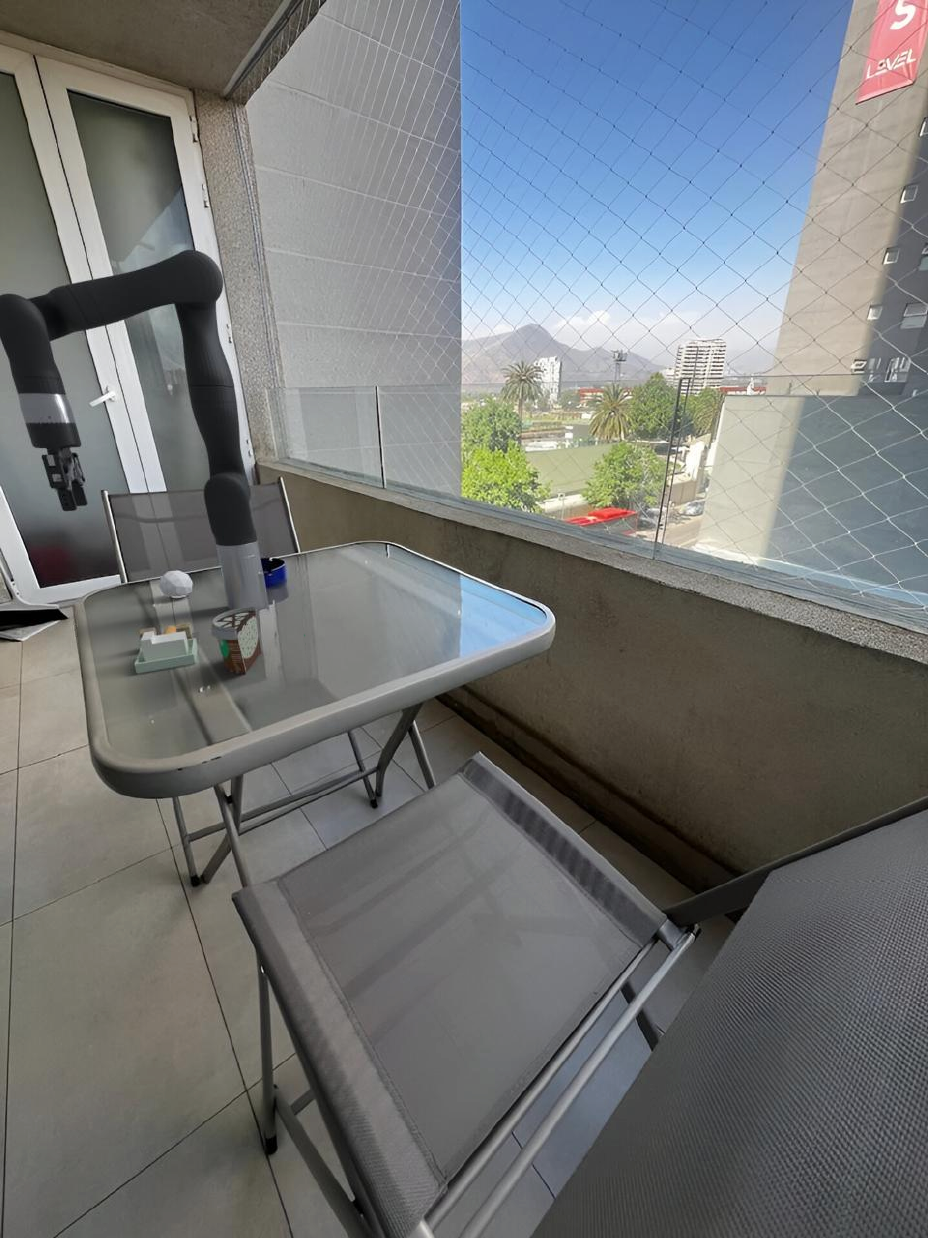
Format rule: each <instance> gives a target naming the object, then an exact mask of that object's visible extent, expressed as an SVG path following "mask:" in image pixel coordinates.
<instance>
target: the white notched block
mask: <svg viewBox="0 0 928 1238" xmlns="http://www.w3.org/2000/svg"><path fill="white" fill-rule="evenodd" d="M140 643H141V645H140V649H141V648H142V652H143V655H144V659H145V662H148V661H154V660H159V659H165V658H171V657H177V656H183V655H189V645H188V641H187V637H186V633H185V631H183V632H176V633H170V634H164V633H163V634H157V636H155V634H154V631H151V632H144V634H143V637H142V639H140Z"/></svg>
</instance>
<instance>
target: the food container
mask: <svg viewBox="0 0 928 1238" xmlns="http://www.w3.org/2000/svg"><path fill="white" fill-rule="evenodd" d="M258 616H259V614H258V611H257V609H256V607H245V608H239V609H235V610H231V611H229V610H228V611H225V612H223V613H220V614H218V615H216V616H215V617H214V618H213V620H212V623H211V627H210V628H211V630H210V631H211V636H212V637H214V638H216V639H217V643H218V647H219V650H220V653H221V655H222V659H223V661H224V666H225V668H226V671H228V672H229V673H232V674H236V675H246V674H247V673H248V672H249V671H250V669H251V668H252V666H253V665H254V663H255V662H256V661H257V659H258V658H259V657H260V655H261V654H262V653H263V649H262V643H261V641H262V640H261V636H260V628H259V620H258Z"/></svg>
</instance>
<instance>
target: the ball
mask: <svg viewBox="0 0 928 1238" xmlns="http://www.w3.org/2000/svg"><path fill="white" fill-rule="evenodd" d="M193 584H194V583H193V581H192V579H191V577H190V576H189V574H187V573H186V572H183V571H180V570H171V571H167V572H166V573H164V574H163V575H162V576H161V577H160V580H159V586H158V587H159V589H160V591H161V592H162V594H163V595H164V594H165V595H167V596H181V595H187V594H188V593H190V592H191V593H192V592H193ZM191 593H190V594H191ZM165 595H164V596H165ZM188 595H189V594H188ZM188 595H187V596H188ZM167 596H166V597H167Z"/></svg>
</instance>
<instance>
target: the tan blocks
mask: <svg viewBox="0 0 928 1238" xmlns="http://www.w3.org/2000/svg"><path fill="white" fill-rule="evenodd" d="M175 627H176V632H183V631H185V633H186V637H187V640H188V639H194V637H193V633H194V632H193V630H192V625H191V622H190V621H188V622H182V623H177V624H176V626H175ZM151 631H154V634H155V636H157V635H158V634H157V630H156V627H149V628H148V627H147V628H143V629H140V631H139V639H140V640H141V639H142V637H143V634H144V632H151Z"/></svg>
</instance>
